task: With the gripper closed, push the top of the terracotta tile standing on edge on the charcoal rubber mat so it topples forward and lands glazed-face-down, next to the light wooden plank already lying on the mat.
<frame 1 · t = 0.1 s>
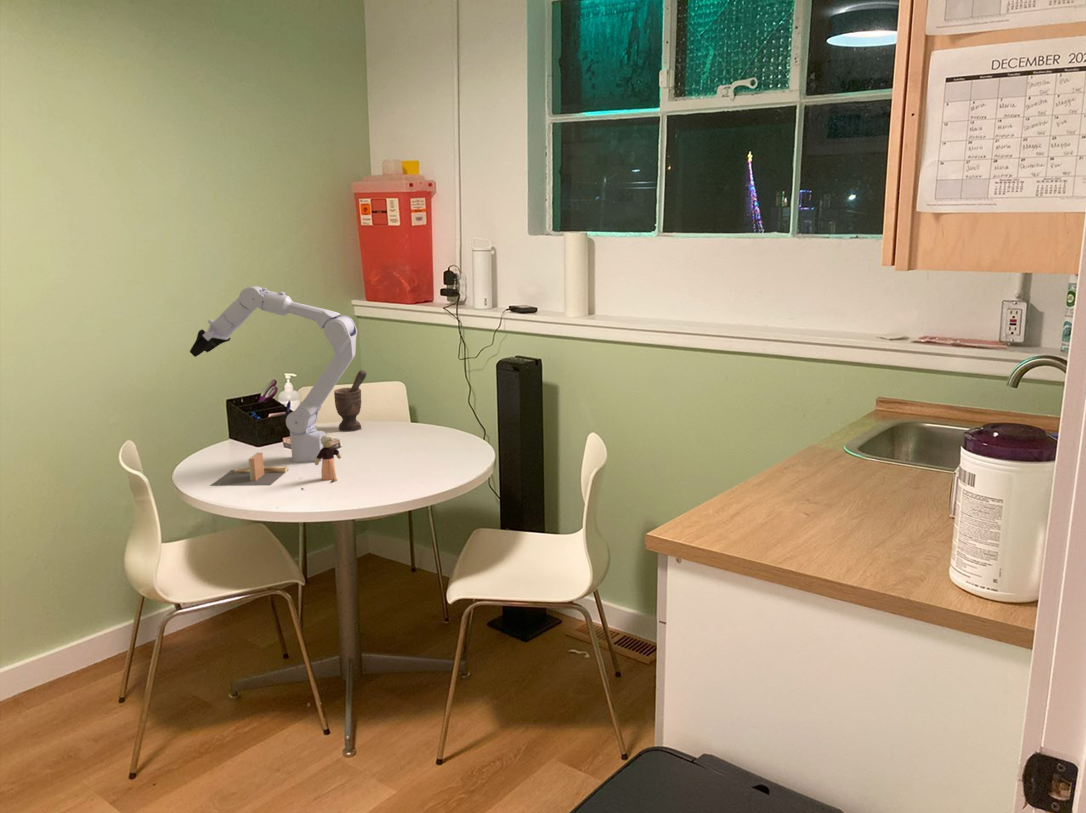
hand: (198, 351, 243), 32 cm above the table, tool tilted 50°, fingers open, 7 cm apart
grandmother figurine: (330, 481, 229), on the table
tile: (257, 477, 231), point 1 cm above the table, touching mat
mortar and pestle: (354, 429, 285), on the table
light wooden plank: (257, 471, 237), point 1 cm above the table, touching mat
mat: (250, 480, 232), on the table
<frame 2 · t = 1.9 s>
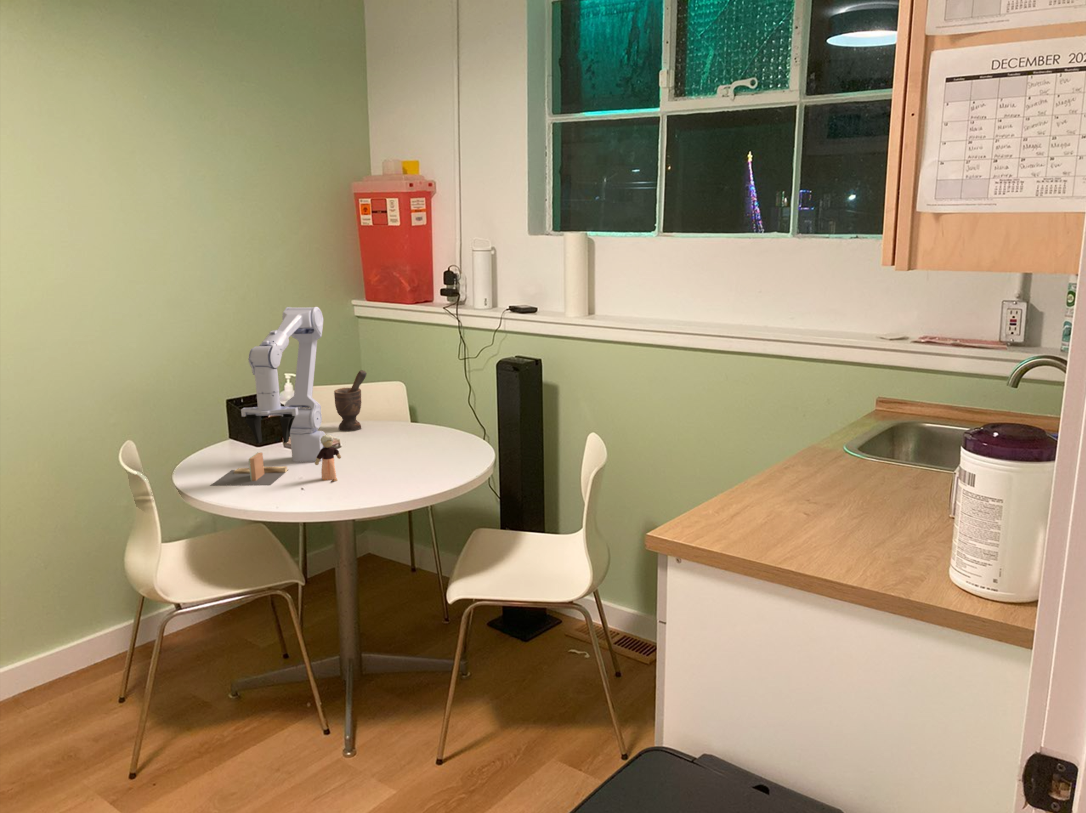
hand: (272, 442, 229), 10 cm above the table, tool pointing down, fingers open, 7 cm apart
nothing on the table moved.
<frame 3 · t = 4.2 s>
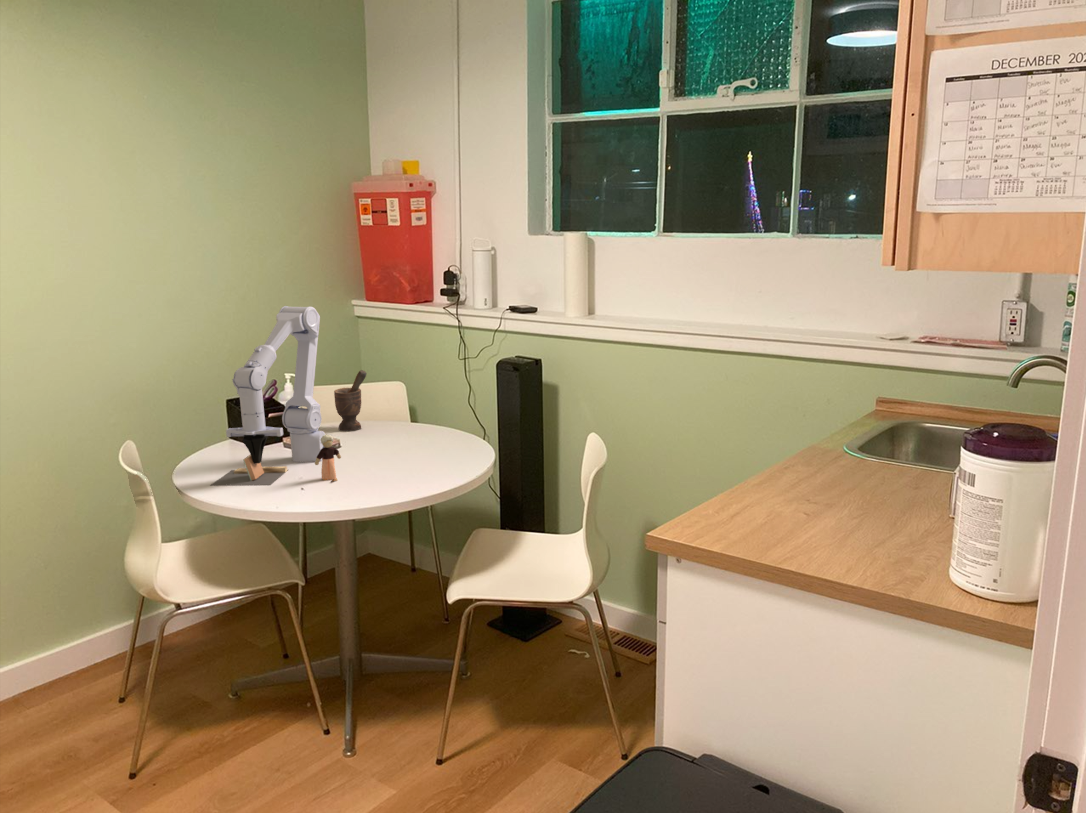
hand: (257, 462, 230), 5 cm above the table, tool pointing down, fingers closed
tile: (257, 476, 231), point 1 cm above the table, tilted 15°, touching mat
everything else where it was.
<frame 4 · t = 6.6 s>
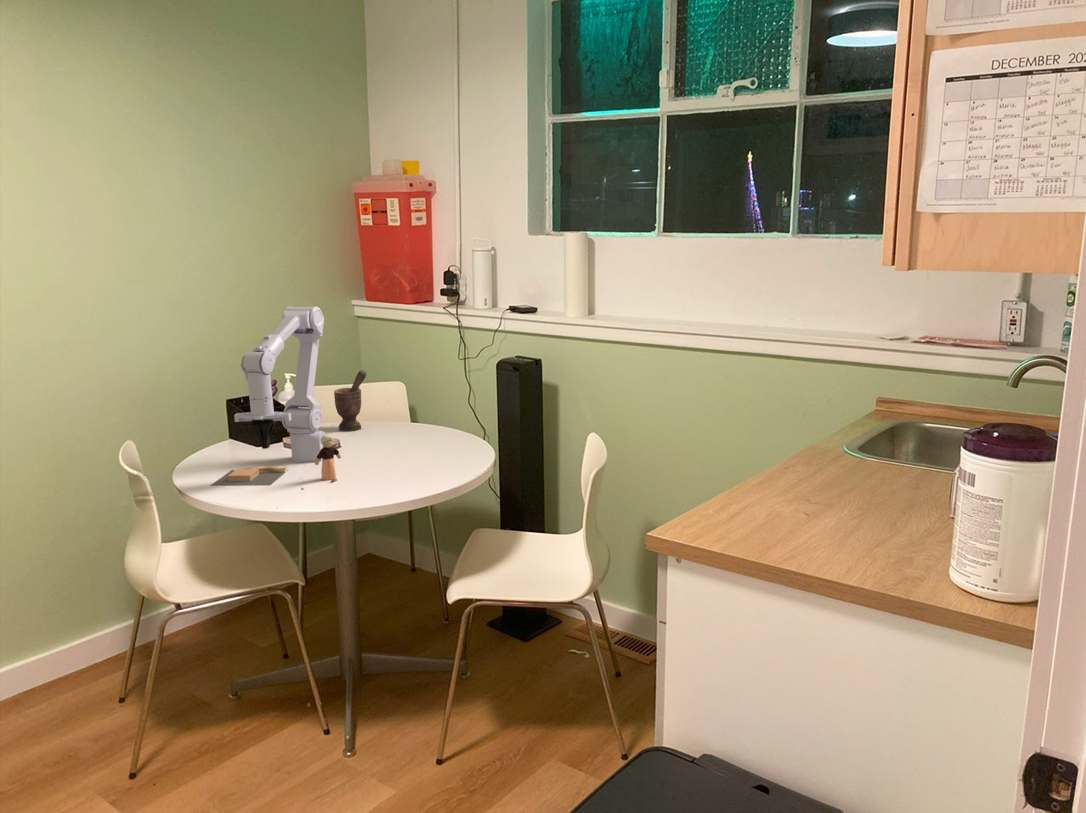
hand: (266, 447, 229), 9 cm above the table, tool pointing down, fingers closed
tile: (254, 474, 231), point 1 cm above the table, tilted 90°, touching mat
everything else where it was.
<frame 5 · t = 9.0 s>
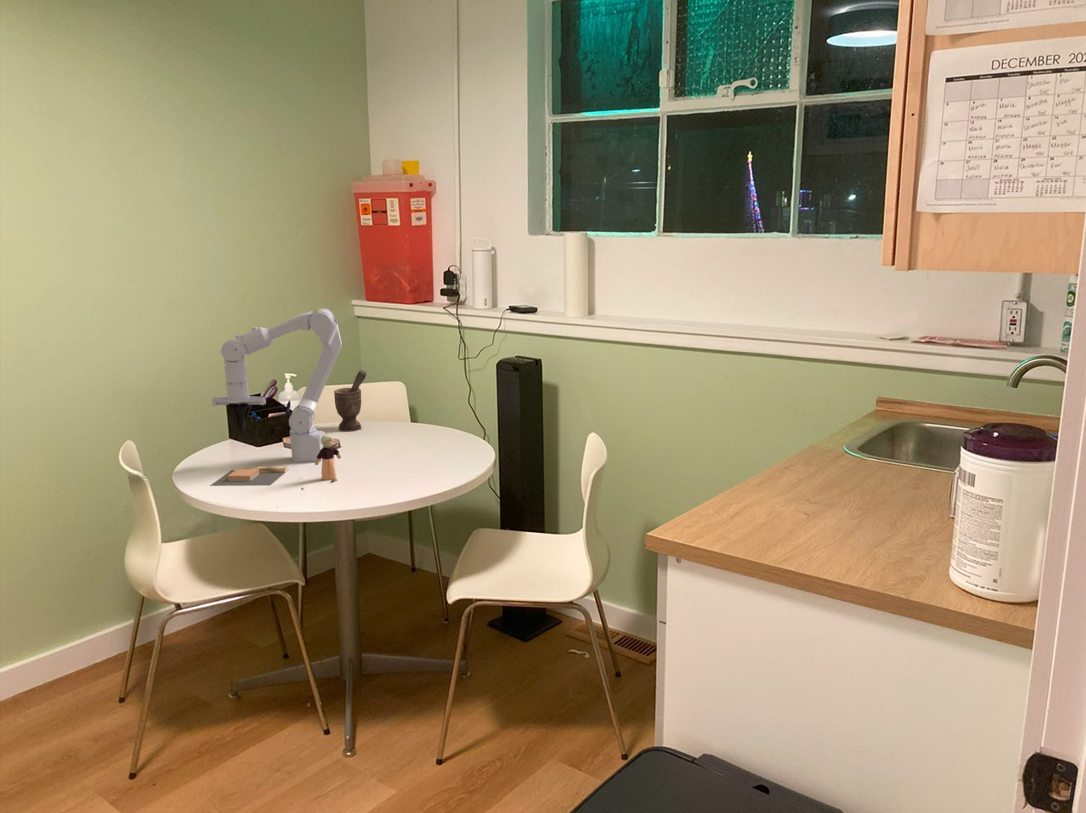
hand: (241, 429, 243), 10 cm above the table, tool pointing down, fingers closed
nothing on the table moved.
at the end: tile tilted 90°; tile inside the target area on the mat (1.7 cm from its centre), point 1.5 cm above the mat's base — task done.
